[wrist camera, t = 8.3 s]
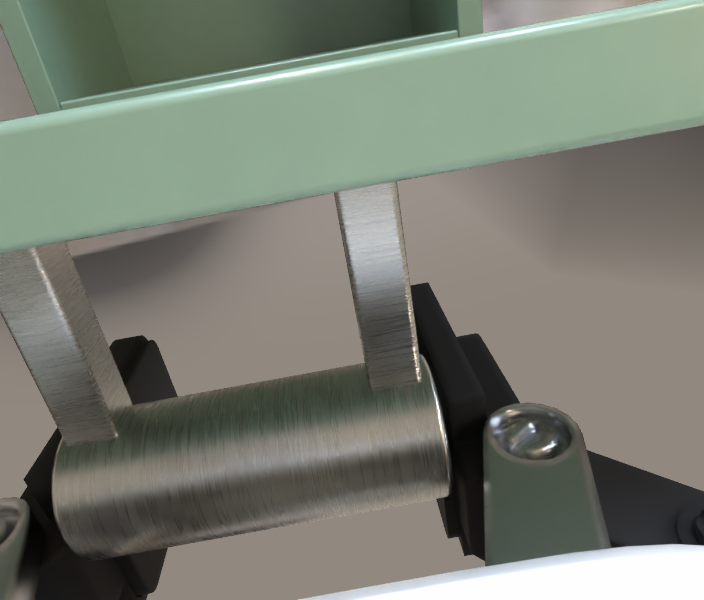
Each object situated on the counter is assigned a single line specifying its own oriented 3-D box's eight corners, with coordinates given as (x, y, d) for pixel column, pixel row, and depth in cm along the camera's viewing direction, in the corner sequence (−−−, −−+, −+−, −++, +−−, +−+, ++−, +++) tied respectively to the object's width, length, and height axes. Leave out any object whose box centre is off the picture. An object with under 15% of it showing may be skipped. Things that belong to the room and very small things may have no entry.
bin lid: (-1143, 331, 3) (-409, 806, 5) (1240, -105, 3) (944, 562, 5) (32, 121, 16) (99, 288, 19) (488, 38, 16) (497, 216, 19)
